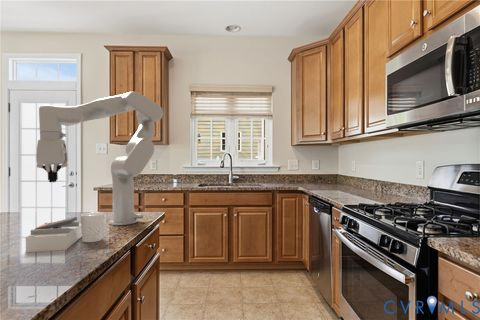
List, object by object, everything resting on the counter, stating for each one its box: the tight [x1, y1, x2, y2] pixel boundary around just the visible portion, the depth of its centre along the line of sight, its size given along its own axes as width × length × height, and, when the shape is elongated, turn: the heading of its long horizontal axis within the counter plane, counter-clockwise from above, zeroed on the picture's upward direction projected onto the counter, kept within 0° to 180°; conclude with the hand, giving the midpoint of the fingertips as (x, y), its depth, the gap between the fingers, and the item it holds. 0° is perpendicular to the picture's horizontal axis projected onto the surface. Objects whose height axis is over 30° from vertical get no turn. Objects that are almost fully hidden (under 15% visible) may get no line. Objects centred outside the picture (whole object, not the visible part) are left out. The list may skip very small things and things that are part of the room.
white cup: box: [80, 211, 105, 243], centre depth 112 cm, size 8×8×10 cm
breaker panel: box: [25, 220, 82, 253], centre depth 107 cm, size 12×18×6 cm, turn 13°
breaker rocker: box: [33, 216, 78, 230], centre depth 107 cm, size 12×6×1 cm, turn 102°
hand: (52, 181), depth 120 cm, fingers closed
